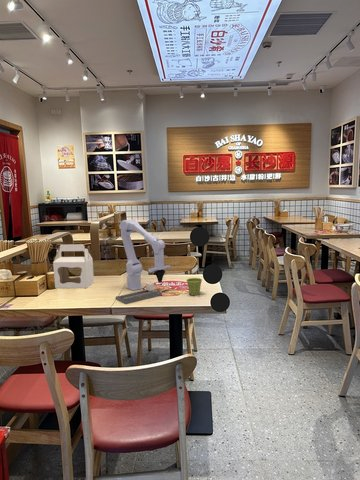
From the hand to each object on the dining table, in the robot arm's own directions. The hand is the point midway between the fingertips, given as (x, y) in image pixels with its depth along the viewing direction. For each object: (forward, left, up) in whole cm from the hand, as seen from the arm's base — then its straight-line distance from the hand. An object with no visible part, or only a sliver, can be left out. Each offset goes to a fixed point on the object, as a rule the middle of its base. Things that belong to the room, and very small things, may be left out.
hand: (160, 282), depth 205 cm
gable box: (-52, -34, -7) cm, 63 cm away
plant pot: (+17, +13, -7) cm, 22 cm away
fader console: (0, -15, -6) cm, 16 cm away
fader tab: (0, -7, -5) cm, 8 cm away
